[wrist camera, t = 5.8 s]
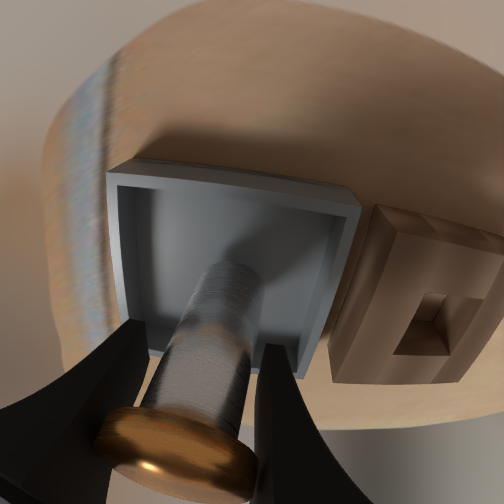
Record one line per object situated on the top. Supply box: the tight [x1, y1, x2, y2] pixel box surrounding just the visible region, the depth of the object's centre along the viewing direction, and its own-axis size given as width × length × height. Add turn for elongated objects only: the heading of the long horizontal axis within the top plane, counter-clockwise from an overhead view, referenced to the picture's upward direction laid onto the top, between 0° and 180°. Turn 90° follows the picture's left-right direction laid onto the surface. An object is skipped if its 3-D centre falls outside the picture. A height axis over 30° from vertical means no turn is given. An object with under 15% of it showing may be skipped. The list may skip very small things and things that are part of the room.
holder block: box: [327, 204, 504, 385], centre depth 14 cm, size 9×9×3 cm
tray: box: [106, 158, 362, 379], centre depth 15 cm, size 10×10×2 cm
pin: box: [93, 261, 265, 504], centre depth 10 cm, size 4×4×9 cm
